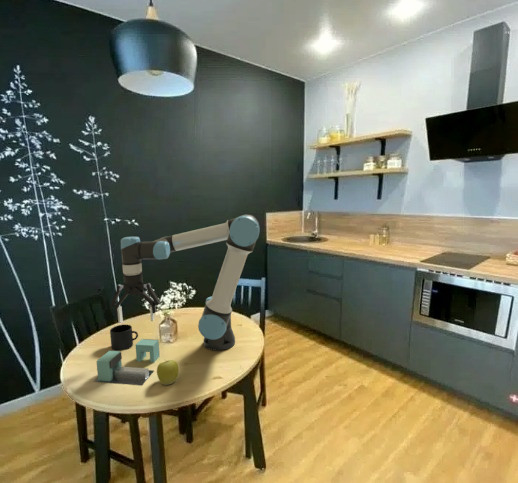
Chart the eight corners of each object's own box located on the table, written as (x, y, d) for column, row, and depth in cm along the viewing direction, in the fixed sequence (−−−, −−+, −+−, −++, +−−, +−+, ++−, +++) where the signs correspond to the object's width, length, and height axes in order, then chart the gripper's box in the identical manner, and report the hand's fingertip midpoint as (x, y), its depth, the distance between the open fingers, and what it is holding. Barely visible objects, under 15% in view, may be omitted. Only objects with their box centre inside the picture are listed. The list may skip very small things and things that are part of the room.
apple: (182, 382, 116) (172, 360, 114) (161, 391, 115) (151, 368, 113) (182, 371, 124) (173, 349, 122) (163, 379, 123) (154, 357, 121)
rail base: (154, 371, 126) (153, 363, 125) (142, 386, 116) (141, 377, 116) (108, 368, 128) (108, 360, 128) (93, 382, 119) (92, 374, 118)
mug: (138, 348, 145) (136, 330, 144) (109, 352, 141) (108, 334, 140) (139, 340, 154) (138, 322, 153) (113, 343, 150) (111, 325, 149)
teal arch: (154, 363, 132) (153, 345, 131) (136, 362, 133) (135, 344, 132) (160, 356, 138) (159, 339, 136) (143, 355, 139) (142, 338, 137)
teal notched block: (123, 369, 126) (121, 351, 125) (111, 381, 119) (110, 361, 117) (110, 369, 127) (109, 350, 126) (98, 380, 119) (96, 361, 118)
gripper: (164, 270, 136) (167, 316, 139) (106, 272, 134) (110, 318, 137) (160, 274, 129) (163, 322, 132) (98, 276, 127) (103, 325, 130)
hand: (136, 320), depth 135 cm, fingers open, 13 cm apart
